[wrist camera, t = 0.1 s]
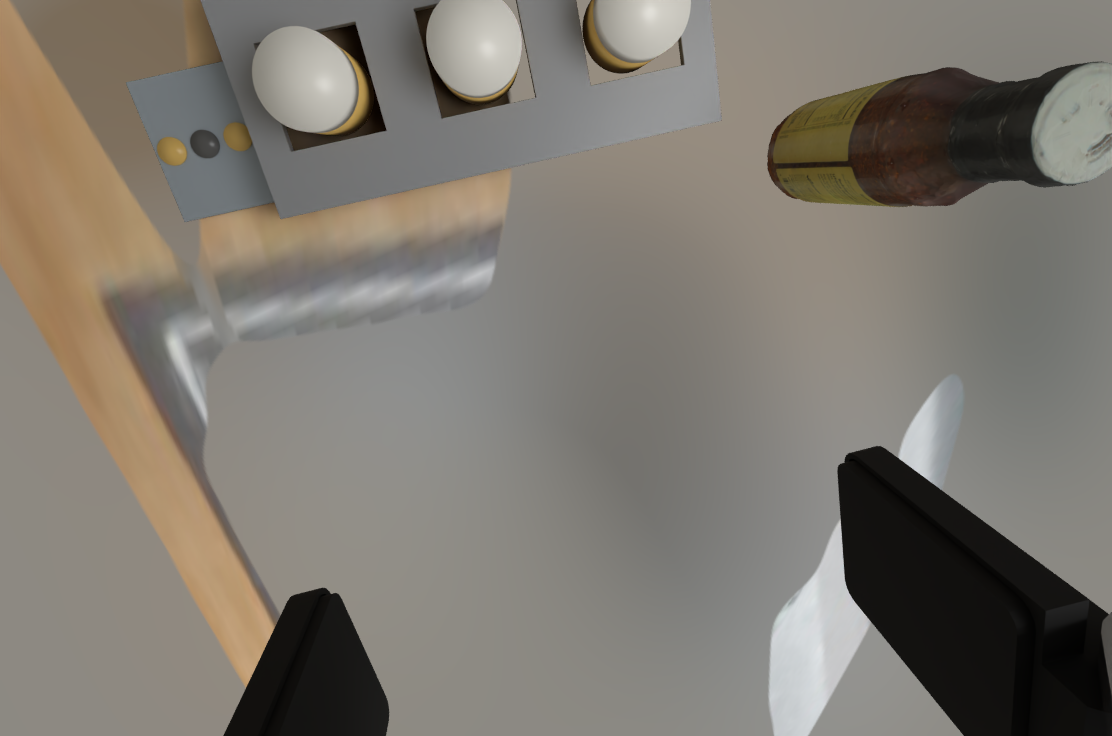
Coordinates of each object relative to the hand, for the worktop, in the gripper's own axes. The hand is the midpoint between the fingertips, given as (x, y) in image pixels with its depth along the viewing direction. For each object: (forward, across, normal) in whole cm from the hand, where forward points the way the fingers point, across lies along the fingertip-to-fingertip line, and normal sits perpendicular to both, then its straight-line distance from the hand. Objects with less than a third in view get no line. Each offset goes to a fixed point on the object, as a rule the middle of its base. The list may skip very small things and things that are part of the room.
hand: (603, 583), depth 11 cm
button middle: (+29, 0, -13) cm, 32 cm away
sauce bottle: (+31, -20, -4) cm, 37 cm away
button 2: (+29, -9, -13) cm, 33 cm away
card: (+31, +17, -12) cm, 37 cm away
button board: (+31, 0, -13) cm, 34 cm away
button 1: (+29, +8, -13) cm, 33 cm away
